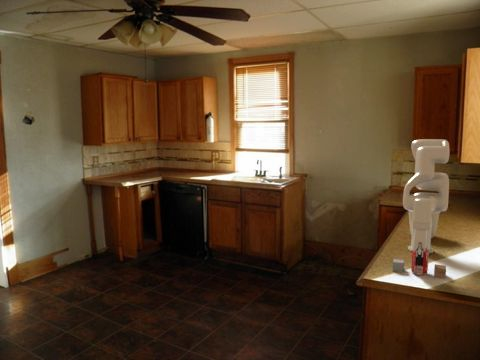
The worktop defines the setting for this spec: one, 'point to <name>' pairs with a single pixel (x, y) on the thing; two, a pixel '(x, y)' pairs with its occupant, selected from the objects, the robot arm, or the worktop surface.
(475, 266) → the worktop surface
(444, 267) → the walnut block
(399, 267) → the slate grey block
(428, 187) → the robot arm
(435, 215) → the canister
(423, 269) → the soda can
